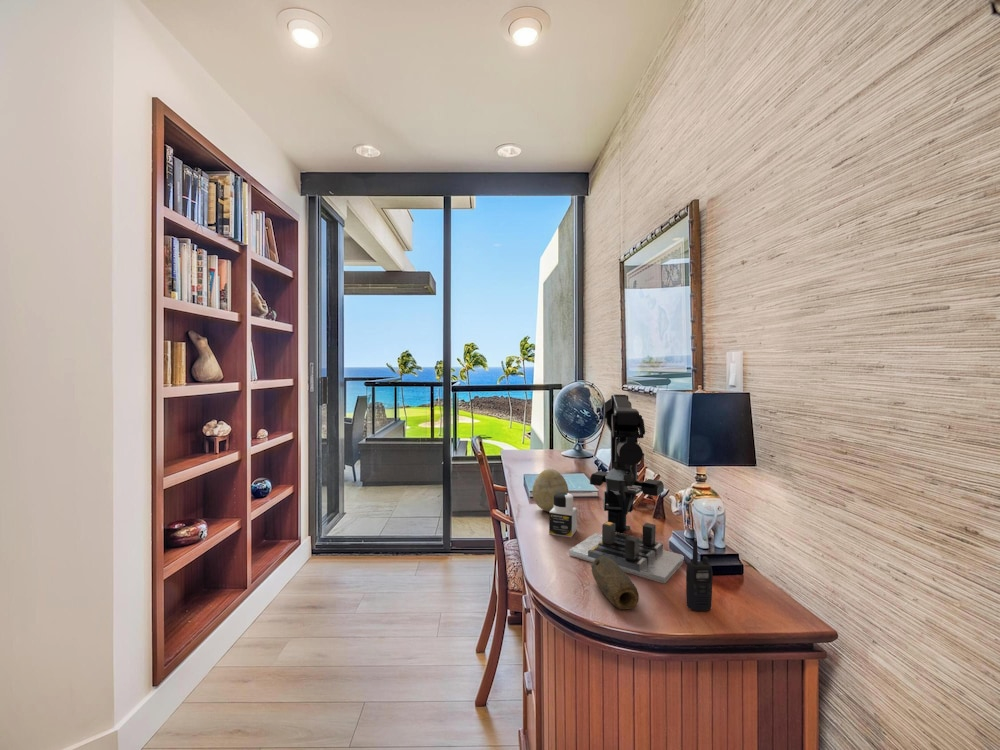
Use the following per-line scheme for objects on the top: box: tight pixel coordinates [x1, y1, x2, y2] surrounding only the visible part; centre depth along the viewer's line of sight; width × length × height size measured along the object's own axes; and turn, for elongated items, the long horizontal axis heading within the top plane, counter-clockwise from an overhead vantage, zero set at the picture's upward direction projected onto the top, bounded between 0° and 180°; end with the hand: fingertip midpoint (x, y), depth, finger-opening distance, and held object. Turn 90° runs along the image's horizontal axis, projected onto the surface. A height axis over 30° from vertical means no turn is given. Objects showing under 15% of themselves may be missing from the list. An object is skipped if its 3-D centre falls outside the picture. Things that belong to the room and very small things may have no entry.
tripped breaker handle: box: [601, 521, 615, 545], centre depth 127 cm, size 3×2×5 cm
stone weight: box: [591, 556, 640, 610], centre depth 105 cm, size 15×7×7 cm, turn 13°
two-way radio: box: [685, 539, 714, 612], centre depth 100 cm, size 6×4×15 cm
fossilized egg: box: [532, 468, 569, 512], centre depth 164 cm, size 13×13×15 cm
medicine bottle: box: [548, 492, 578, 538], centre depth 143 cm, size 7×7×12 cm
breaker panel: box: [568, 522, 684, 584], centre depth 124 cm, size 17×26×8 cm, turn 52°
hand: (625, 514), depth 124 cm, fingers closed
